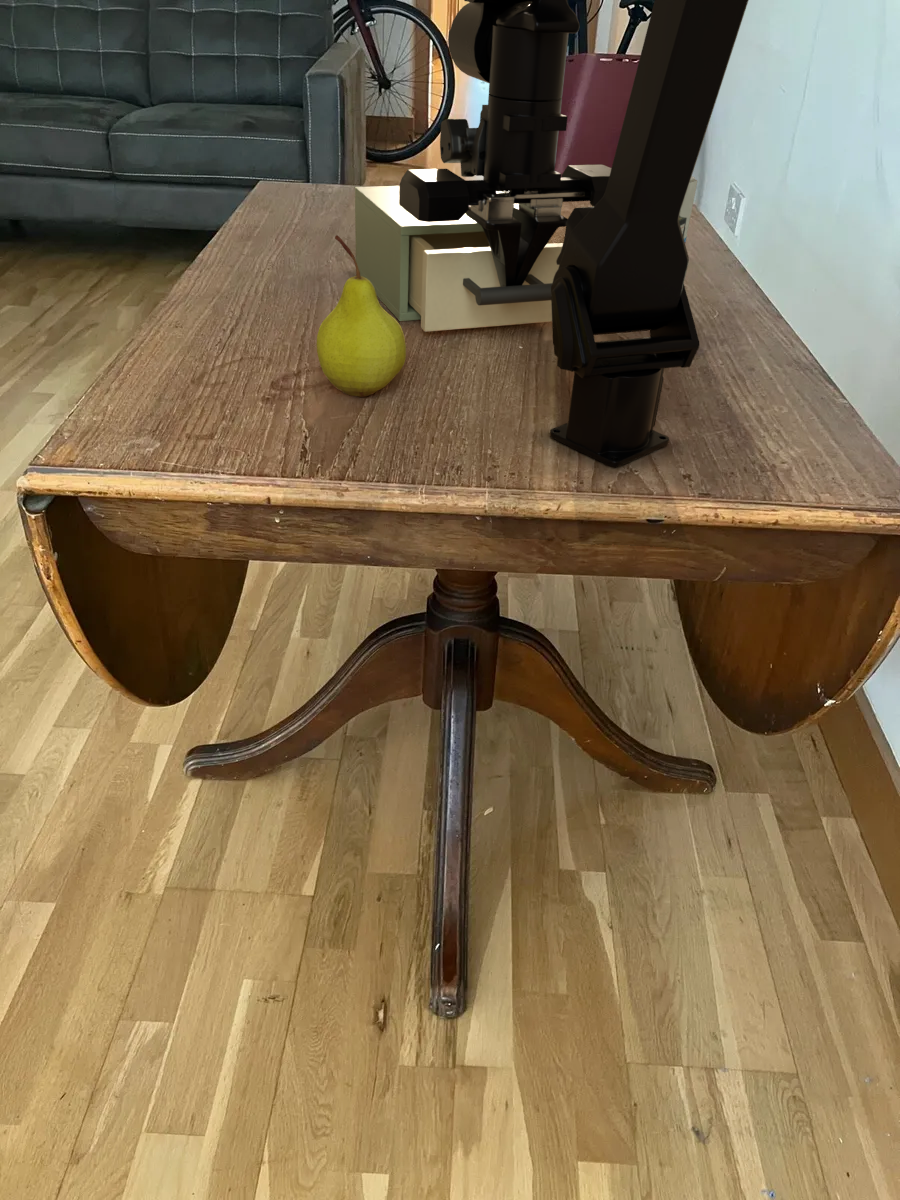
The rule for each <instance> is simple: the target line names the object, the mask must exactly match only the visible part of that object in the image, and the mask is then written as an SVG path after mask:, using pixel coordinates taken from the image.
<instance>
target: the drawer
mask: <svg viewBox="0 0 900 1200" xmlns="http://www.w3.org/2000/svg"><path fill="white" fill-rule="evenodd" d="M562 246H563V242H557V243H556V242H555V243H554V242H553V243H550V240H549V241H548V243H547V244H546V246H545V247H544V249H543V250H542V252H541V253H540V255H539V256H538V258H537V260H536V261H535V263H534V265H533V267H532V268H531V270H530V272H529V274H528V276H527V277H526V279H525V281H524V283H523V285H518V286H503V287H500V283H499V279H498V275H497V271H496V267H495V263H494V259H493V256H492V252H491V248H490V245H489V243H488V240H487V237H486V235H485V232H468V233H447V234H426V235H409V268H408V303H409V304H410V305H411V306H412V307H413V308H414V309H415V310H416V311H417V312H418V313H419V314H420V315H421V320H420V328H421V330H423V331H424V332H425V333H426V332H439V331H452V330H463V329H476V328H477V329H478V328H489V327H501V326H512V325H525V324H538V323H549V322H551V323H552V306H551V286H552V283H553V279H554V276H555V273H556V272H557V270H558V268H559V265H557V263H556V261H557V258H558V256H559V254H560V252H561V249H562Z"/></svg>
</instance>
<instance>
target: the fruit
mask: <svg viewBox="0 0 900 1200" xmlns="http://www.w3.org/2000/svg"><path fill="white" fill-rule="evenodd" d="M334 239H335V240H336V241H338V243H340V245H341V247H342V249H344V251H345V252H346V253H347V254H348V255H349V256H350V258H351V259H352V261H353V264H354V266H355V275H354V276H351V277H349V278H348V279H346V281H345V283H344V285H343V289H342V291H341V295H340V298H339V300H338V302H337V304H336V305H335V307H334V308H333V310H332V311H331V312H330V313H329V314H328V315H327V316H326V317H325V318H324V319H323V321H322V322H321V324H320V326H319V328H318V332H317V335H316V353H317V358H318V363H319V366H320V368H321V370H322V373H323V374H324V376H325V377H326V378H327V380H328V381H329V382H330V383H331V384H332V385H333V386H334V387H335V388H336V389H338V390H339V391H341V392H343V394H345V395H348V396H352V397H358V398H364V397H368V396H371V395H373V394H375V393H377V392H378V391H380V390H382V389H384V388H385V387H387V386H388V385H389V384H390V382H392V381H393V379H394V378H396V377H397V375H398V374H399V373H400V371H402V369H403V367H404V365H405V362H406V358H407V345H406V338H405V334H404V331H403V329H402V326H401V324H400V323H399V321H398V320H396V318H395V317H393V315H391V314H390V313H389V312H388V311H386V310H385V309H384V308H383V307H382V306H381V304H380V302H379V298H378V297H377V295H376V292H375V289H374V287H373V285H372V283H371V282H370V281H369V280H368V279H367V278H365V277H362V276H360V271H359V268H358V265H357V263H356V256H354V254H353V252H352V250H351V249H350V247H349V246H348V245H347V244H346V243H345V242H344V240H343V239H342V238H341V236H339V235H338V234H336V235H335V236H334Z"/></svg>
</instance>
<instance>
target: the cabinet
mask: <svg viewBox="0 0 900 1200" xmlns="http://www.w3.org/2000/svg"><path fill="white" fill-rule="evenodd" d="M399 190H400V185H378V186H377V185H376V186H373V185H372V186H355V187H354V217H355V218H354V229H355V230H354V235H355V236H354V237H355V238H354V239H355V260H356V263H357V265H358V268H359V271H360V276H362V277H365V278H367V279H368V280H369V281H370V282H371V283H372V285H373V287H374V289H375V292H376V295H377V299H378V300H380V301H381V302H382V304H383V305H384V306H385V307H386V308H387V310H389V311H390V313H391V314H392V315H393V316H394V318H395V319H397V321H398V322H409V321H421V315H420V314H419V313H418V312H417V311H416V310H415V309H414V308H413V307H412V306H411V305H410V304H409V303H408V268H409V235H426V234H447V233H468V232H484V230H483V228H482V226H481V225H480V224H478V223H477V222H475V221H474V220H472V219H471V218H470V217H468V216H467V215H466V213H465V214H464V215H463V216H462V218H461V219H460V220H459V221H440V222H425V221H419V220H418V219H416V218H415V217H414V216H413V215H411V214H410V213H409V212H408V211H406V210H405V209H404V208H403V207H401V206H400V205H399ZM496 193H504V192H502V191H499V192H497V191H496Z"/></svg>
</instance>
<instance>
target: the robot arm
mask: <svg viewBox="0 0 900 1200" xmlns="http://www.w3.org/2000/svg"><path fill="white" fill-rule="evenodd" d="M463 1H464V2H466V4H465V5H463V6H462V7H461V8H460V9H459V11H457V13H456V15H455V16H454V18H453V20H452V21H451V22H452V23H451V26H450V29H449V31H448V35H447V41H448V42H447V45H448V50H449V54H450V58H451V59H452V61H453V63H454V65H455V66H456V67H457V68H458V70H460V72H462V73H463V74H465V75H467V76H469V77H471V78H474V79H476V80H479V81H482V82H484V83H486V84H488V97H487V104H482V105H481V111H480V114H479V115H480V116H479V123H478V127H470V126H469V122H468V119H466V118H446V119H444V120H443V121H441V123H440V135H439V149H440V150H439V152H440V160H441V162H442V163H443V164H460V175H461V176H459V175H458V174H456V173H454V172H453V171H451V170H450V169H449V168H419V169H416V168H415V169H413V168H412V169H407V170H406V172H405V173H404V174H403V175H402V177H401V179H400V182H399V186H400V190H399V205H400V206H401V207H403V208H404V209H405V210H406V211H408V212H409V213H410V214H411V215H413V216H414V217H415V218H416V219H418V220H419V221H425V222H440V221H459V220H460V219H461V218H462V216H463V215H464V214H465V213H466V215H467V216H468V217H470V218H471V219H472V220H474V221H475V222H477V223H478V224H480V225H481V226H482V228H483V230H484V232H485V235H486V237H487V240H488V243H489V245H490V248H491V252H492V256H493V259H494V263H495V267H496V271H497V275H498V279H499V283H500V287H503V286H518V285H523V283H524V281H525V279H526V277H527V276H528V274H529V272H530V270H531V268H532V267H533V265H534V263H535V261H536V260H537V258H538V256H539V255H540V253H541V252H542V250H543V249H544V247H545V246H546V244H547V243H548V241H549V242H550V240H551V239H552V237H553V236H554V234H555V233H556V231H557V230H558V229H559V228H564V227H565V231H564V237H563V242H562V243H563V246H562V249H561V252H560V254H559V256H558V258H557V261H556V263H557V265H559V268H558V270H557V272H556V273H555V276H554V279H553V283H552V286H551V306H552V321H551V327H552V330H551V331H552V344H553V354H554V356H555V357H556V358H557V363H556V366H557V367H558V368H559V369H560V370H563V371H569V372H574V373H573V380H572V385H571V395H570V401H569V402H570V403H569V410H568V418H567V423H563V424H561V425H558V426H556V427H552V428H551V429H549V437H550V438H551V439H553V440H555V441H556V442H559V443H561V444H563V445H565V446H567V447H570V448H572V449H574V450H575V451H577V452H580V453H582V454H584V455H586V456H589V457H590V458H592V459H594V460H597V461H599V462H600V463H602V464H605V465H607V466H609V467H612V468H617V467H618V468H619V467H621V466H624V465H626V464H627V463H631V462H633V461H635V460H637V459H639V458H641V457H644V456H647V455H648V454H650V453H653V452H655V451H657V450H659V449H662V448H664V447H666V446H668V445H669V442H670V437H669V436H667V435H665V434H664V433H660V432H659V431H656V430H654V428H655V426H656V422H657V416H658V409H659V404H660V400H661V394H662V390H663V385H664V384H663V383H664V371H665V369H673V368H682V369H685V368H690V367H691V365H692V363H693V361H694V359H695V356H696V355H697V352H698V350H699V348H700V339H699V335H698V332H697V328H696V324H695V320H694V317H693V312H692V309H691V305H690V301H689V298H688V295H687V294H688V293H687V290H686V286H685V280H686V275H687V271H688V267H689V261H690V259H689V258H690V257H689V253H688V250H687V246H686V243H685V242H684V238H683V234H682V230H681V227H680V223H679V215H680V211H681V208H682V205H683V201H684V198H685V195H686V192H687V189H688V186H689V183H690V180H691V177H693V173H694V172H695V171H694V170H695V168H696V164H697V162H698V158H699V155H700V152H701V149H702V145H703V143H704V139H705V137H706V133H707V130H708V128H709V124H710V121H711V118H712V115H713V112H714V108H715V105H716V102H717V99H718V96H719V93H720V89H721V87H722V84H723V80H724V78H725V74H726V71H727V68H728V65H729V62H730V59H731V56H732V53H733V50H734V47H735V43H736V41H737V37H738V34H739V31H740V29H741V25H742V22H743V18H744V16H745V13H746V9H747V6H748V4H749V0H654V2H653V6H652V9H651V13H650V17H649V21H648V26H647V29H646V33H645V36H644V40H643V45H642V47H641V52H640V56H639V60H638V64H637V68H636V71H635V75H634V79H633V83H632V87H631V90H630V91H631V92H630V95H629V98H628V103H627V107H626V111H625V114H624V118H623V119H624V120H623V123H622V126H621V130H620V134H619V136H618V137H619V138H618V142H617V145H616V149H615V154H614V158H613V161H612V165H611V167H609V166H607V165H605V164H574V165H573V164H570V165H567V166H566V167H565V169H564V171H563V172H562V173H561V172H559V171H557V170H555V169H556V162H557V161H556V159H557V150H558V140H559V132H565V131H567V127H568V126H567V124H568V115H565V114H562V113H561V112H562V102H563V92H564V81H565V72H566V61H567V54H568V53H567V52H568V43H569V34H577V33H578V32H579V30H580V22H579V19H578V16H577V14H576V13H575V12H574V11H573V10H572V8H571V7H570V5H569V3H568V0H463ZM476 176H477V177H483V178H482V179H471V180H468V179H467V180H466V179H465V178H473V177H476ZM496 191H497V192H499V191H502V192H503V193H496ZM570 202H571V203H573V202H574V203H575V202H589V204H590V206H583V207H581V206H580V207H574V208H573V209H572V212H570V214H569V216H568V218H567V217H565V216H564V215H562V208H563V203H570ZM648 331H649V336H645V337H634V338H625V339H613V340H602V341H596V339H595V336H602V335H613V334H624V333H636V332H637V333H638V332H648Z"/></svg>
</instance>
